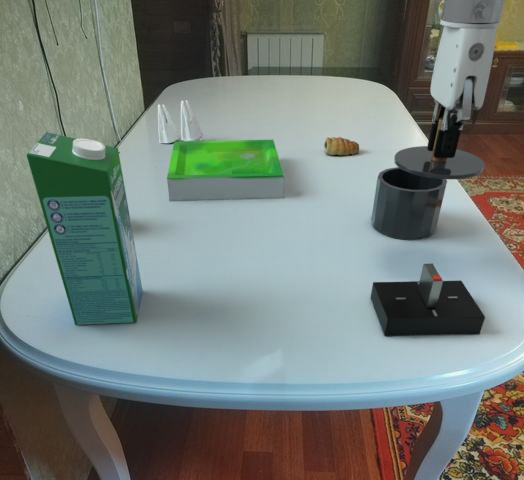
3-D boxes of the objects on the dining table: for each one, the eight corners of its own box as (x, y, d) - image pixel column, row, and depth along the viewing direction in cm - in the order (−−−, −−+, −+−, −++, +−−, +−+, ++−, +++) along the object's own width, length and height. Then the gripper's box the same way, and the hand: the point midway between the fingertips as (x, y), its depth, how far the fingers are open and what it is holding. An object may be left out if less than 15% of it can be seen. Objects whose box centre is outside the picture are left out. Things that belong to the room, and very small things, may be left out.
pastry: (356, 148, 139) (357, 133, 136) (361, 156, 133) (362, 141, 131) (322, 148, 138) (323, 134, 136) (325, 157, 133) (327, 142, 131)
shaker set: (203, 141, 143) (200, 98, 136) (200, 146, 140) (197, 102, 133) (163, 139, 145) (158, 97, 138) (158, 144, 142) (153, 101, 135)
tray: (176, 161, 130) (174, 141, 127) (273, 159, 131) (273, 139, 128) (169, 200, 111) (166, 178, 108) (283, 197, 112) (283, 175, 109)
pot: (425, 211, 106) (435, 166, 100) (444, 239, 97) (456, 190, 91) (365, 212, 106) (372, 167, 100) (378, 240, 96) (386, 191, 90)
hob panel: (456, 296, 81) (461, 279, 79) (480, 333, 73) (486, 316, 71) (370, 298, 81) (373, 281, 79) (384, 336, 73) (387, 318, 71)
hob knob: (417, 289, 77) (423, 261, 74) (426, 289, 77) (433, 261, 74) (426, 307, 73) (433, 279, 70) (436, 307, 73) (443, 279, 70)
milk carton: (136, 322, 76) (103, 151, 60) (74, 325, 75) (25, 153, 59) (142, 290, 83) (114, 129, 67) (86, 292, 82) (44, 130, 66)
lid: (464, 153, 85) (476, 107, 81) (496, 183, 75) (511, 132, 70) (384, 153, 85) (391, 107, 80) (405, 184, 74) (415, 133, 70)
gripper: (526, 19, 61) (483, 172, 73) (477, 6, 73) (447, 138, 85) (464, 19, 61) (431, 172, 72) (426, 6, 73) (403, 138, 85)
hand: (440, 152), depth 79 cm, fingers closed on lid, 2 cm apart
